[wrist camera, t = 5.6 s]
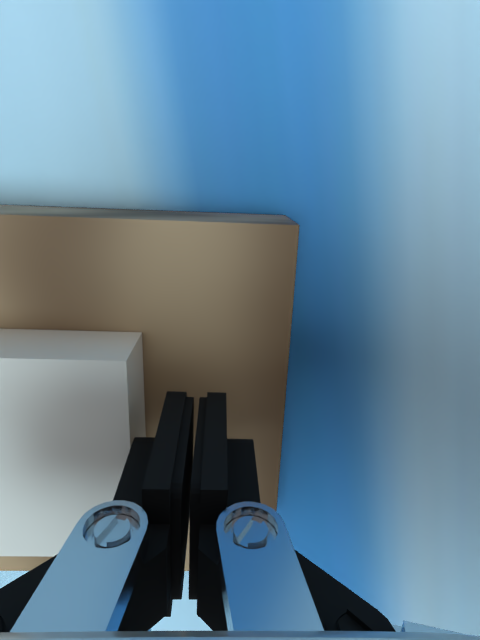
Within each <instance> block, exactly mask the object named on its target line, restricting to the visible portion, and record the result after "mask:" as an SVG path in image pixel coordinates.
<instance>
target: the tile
mask: <svg viewBox="0 0 480 640" xmlns="http://www.w3.org/2000/svg"><path fill="white" fill-rule="evenodd" d="M135 437H146V429H145V401H144V373H143V346H142V332H110V331H71V330H32V329H0V556H42V557H54V556H55V555H57V554H58V553H59V551H60V550H61V548H62V546H63V545H64V543H65V542H66V540H67V538H68V537H69V535H70V533H71V532H72V530H73V529H74V527H75V525H76V524H77V522H78V521H79V520H80V518H81V517H82V516H83V515H84V514H85V513H86V512H87V511H89V510H90V509H91V508H93V507H95V506H97V505H99V504H102V503H104V502H109V501H113V499H114V496H115V493H116V490H117V487H118V484H119V481H120V478H121V475H122V472H123V469H124V466H125V463H126V460H127V457H128V454H129V451H130V448H131V445H132V442H133V440H134V438H135Z"/></svg>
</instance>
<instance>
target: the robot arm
mask: <svg viewBox="0 0 480 640" xmlns="http://www.w3.org/2000/svg"><path fill="white" fill-rule="evenodd" d="M193 432H194V397H187V392H177V391H167V393H166V397H165V401H164V404H163V408H162V412H161V416H160V420H159V424H158V428H157V432H156V436H155V437H135V438H134V440H133V442H132V445H131V448H130V451H129V454H128V457H127V460H126V463H125V466H124V469H123V472H122V475H121V478H120V481H119V484H118V487H117V490H116V493H115V496H114V499H113V501H109V502H104V503H102V504H99V505H97V506H95V507H93V508H91V509H90V510H89V511H87V512H86V513H85V514H84V515H83V516H82V517H81V518H80V520H79V521H78V522H77V524H76V525H75V527H74V529H73V530H72V532H71V533H70V535H69V537H68V538H67V540H66V542H65V543H64V545H63V546H62V548H61V550H60V551H59V553H58V554H57V555H55V556H54V557H52V558H50V559H49V560H47V561H45V562H44V563H42V564H40V565H39V566H37V567H35V568H34V569H32V570H30V571H29V572H27V573H26V574H24V575H22V576H21V577H19V578H17V579H16V580H14V581H12V582H11V583H9V584H7V585H6V586H4V587H2V588H1V589H0V640H480V636H475V635H466V634H462V633H457V632H453V631H448V630H444V629H439V628H435V627H430V626H426V625H421V624H417V623H412V622H408V621H403V625H402V627H400V626H396V625H391V623H390V622H389V621H388V619H387V618H386V617H385V616H384V615H382V614H381V613H380V612H379V611H378V610H377V609H376V608H374V607H373V606H371V605H370V604H369V603H367V602H366V601H365V600H363V599H362V598H360V597H359V596H358V595H356V594H355V593H354V592H352V591H351V590H349V589H348V588H347V587H345V586H344V585H343V584H341V583H340V582H338V581H337V580H336V579H334V578H333V577H332V576H330V575H329V574H327V573H326V572H325V571H323V570H322V569H320V568H319V567H318V566H316V565H315V564H314V563H312V562H311V561H309V560H308V559H307V558H305V557H304V556H303V555H301V554H300V553H298V552H297V551H296V550H294V548H293V545H292V542H291V539H290V537H289V534H288V531H287V529H286V526H285V523H284V521H283V520H282V518H281V516H280V515H279V514H278V513H277V512H276V511H275V510H274V509H272V508H271V507H269V506H267V505H265V504H261V502H260V493H259V485H258V476H257V467H256V458H255V450H254V442H253V439H227V404H226V393H221V392H207V397H200V398H199V408H198V418H197V427H196V437H195V446H194V456H193ZM189 518H190V531H189V599H197V615H198V616H199V617H200V618H201V619H202V620H203V621H204V622H205V623H206V624H207V625H208V626H209V627H210V628H211V629H212V630H213V631H151V628H152V627H153V626H154V625H155V624H156V623H157V622H159V621H160V620H161V619H162V618H163V617H171V609H172V600H173V599H181V598H182V590H183V579H184V569H185V559H186V549H187V538H188V528H189Z"/></svg>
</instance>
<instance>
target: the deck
mask: <svg viewBox="0 0 480 640" xmlns="http://www.w3.org/2000/svg"><path fill="white" fill-rule="evenodd" d="M298 237H299V225H298V224H297V223H295V222H294V221H293V220H291V219H290V218H288V217H287V216H285V215H268V214H240V213H213V212H186V211H159V210H132V209H105V208H77V207H50V206H23V205H0V329H32V330H71V331H110V332H142V346H143V373H144V401H145V429H146V437H155V436H156V432H157V428H158V424H159V420H160V416H161V412H162V408H163V404H164V401H165V397H166V393H167V391H177V392H187V397H194V432H193V456H194V446H195V437H196V427H197V418H198V408H199V398H200V397H207V392H221V393H226V404H227V439H253V442H254V450H255V458H256V467H257V476H258V485H259V493H260V502H261V504H265V505H267V506H269V507H271V508H272V509H274V510H275V511H276V508H277V496H278V483H279V471H280V459H281V446H282V434H283V422H284V409H285V397H286V385H287V372H288V360H289V348H290V335H291V323H292V311H293V298H294V286H295V274H296V261H297V249H298ZM189 531H190V518H189V528H188V538H187V549H186V559H185V569H184V571H189ZM50 558H52V557H42V556H0V571H30V570H32V569H34V568H35V567H37V566H39V565H40V564H42V563H44V562H45V561H47V560H49V559H50Z"/></svg>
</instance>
